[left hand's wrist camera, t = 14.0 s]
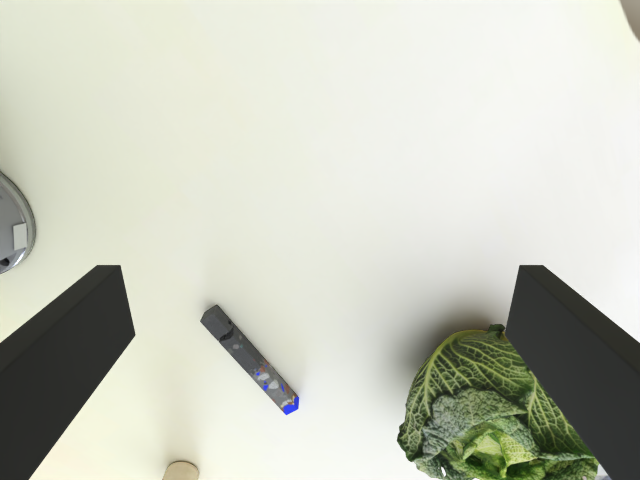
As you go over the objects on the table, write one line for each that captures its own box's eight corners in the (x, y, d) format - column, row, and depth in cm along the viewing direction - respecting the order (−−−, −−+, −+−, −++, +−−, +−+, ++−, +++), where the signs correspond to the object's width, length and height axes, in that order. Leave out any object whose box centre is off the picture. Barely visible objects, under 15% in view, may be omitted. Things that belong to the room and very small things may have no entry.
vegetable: (407, 329, 62) (364, 446, 48) (492, 264, 48) (468, 401, 34) (508, 401, 61) (495, 542, 47) (623, 357, 48) (654, 536, 34)
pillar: (212, 313, 50) (299, 410, 56) (216, 304, 52) (300, 399, 58) (200, 321, 51) (287, 416, 57) (204, 312, 53) (288, 405, 59)
